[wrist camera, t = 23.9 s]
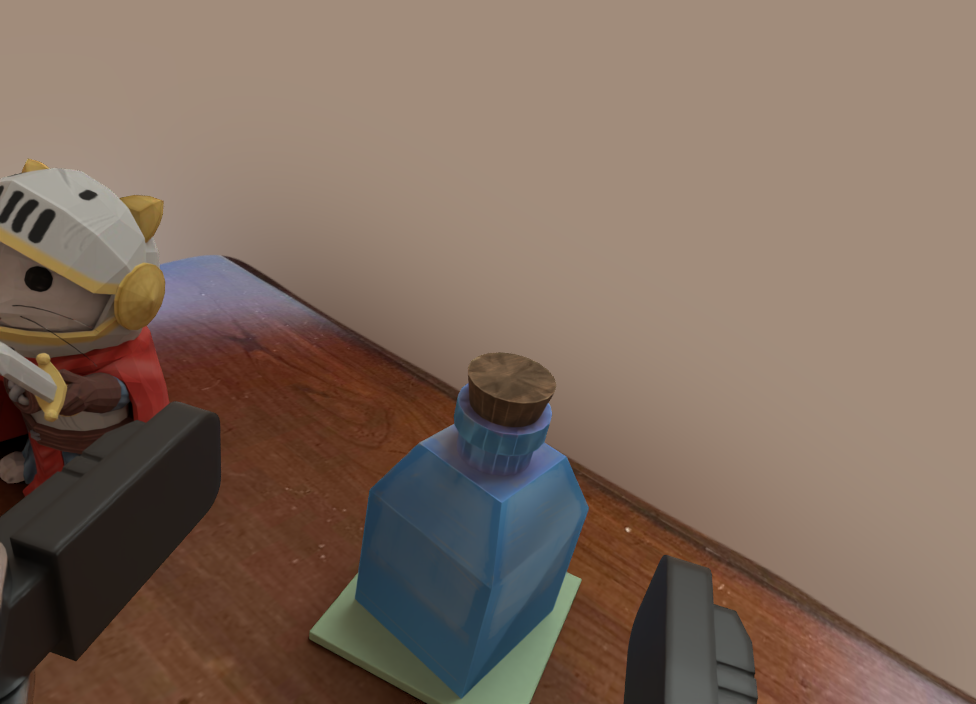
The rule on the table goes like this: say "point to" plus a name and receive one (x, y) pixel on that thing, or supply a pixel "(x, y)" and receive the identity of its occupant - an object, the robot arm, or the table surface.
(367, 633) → the mat
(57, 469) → the figurine
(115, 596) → the robot arm
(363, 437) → the table surface
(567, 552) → the perfume bottle
